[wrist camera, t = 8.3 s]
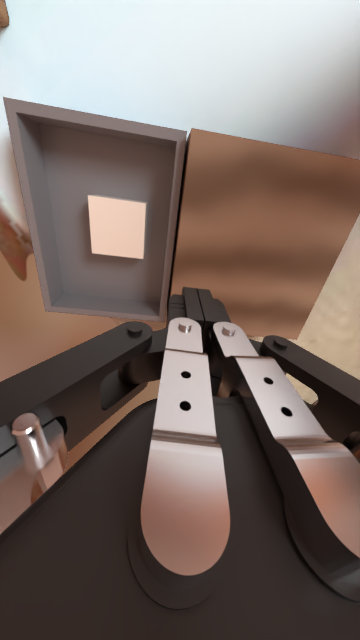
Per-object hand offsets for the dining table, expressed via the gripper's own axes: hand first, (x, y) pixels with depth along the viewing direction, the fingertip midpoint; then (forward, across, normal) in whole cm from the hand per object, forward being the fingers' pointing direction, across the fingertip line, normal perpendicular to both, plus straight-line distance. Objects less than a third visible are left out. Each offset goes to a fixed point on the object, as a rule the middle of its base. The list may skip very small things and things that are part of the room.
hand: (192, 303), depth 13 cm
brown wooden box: (+19, -8, 0) cm, 21 cm away
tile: (+16, +7, 0) cm, 17 cm away
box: (+18, +8, 0) cm, 20 cm away
